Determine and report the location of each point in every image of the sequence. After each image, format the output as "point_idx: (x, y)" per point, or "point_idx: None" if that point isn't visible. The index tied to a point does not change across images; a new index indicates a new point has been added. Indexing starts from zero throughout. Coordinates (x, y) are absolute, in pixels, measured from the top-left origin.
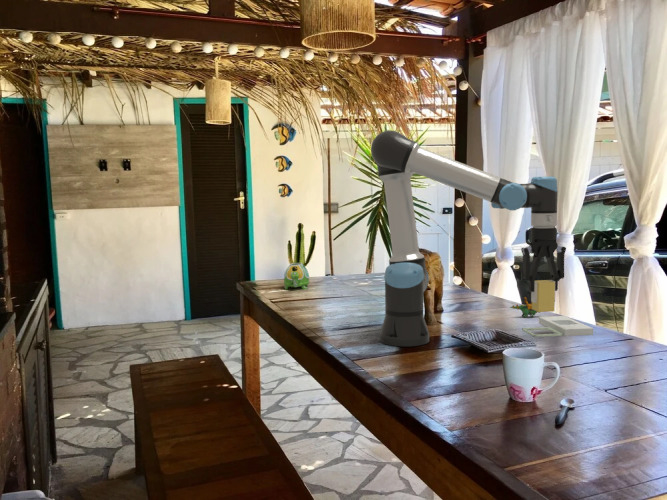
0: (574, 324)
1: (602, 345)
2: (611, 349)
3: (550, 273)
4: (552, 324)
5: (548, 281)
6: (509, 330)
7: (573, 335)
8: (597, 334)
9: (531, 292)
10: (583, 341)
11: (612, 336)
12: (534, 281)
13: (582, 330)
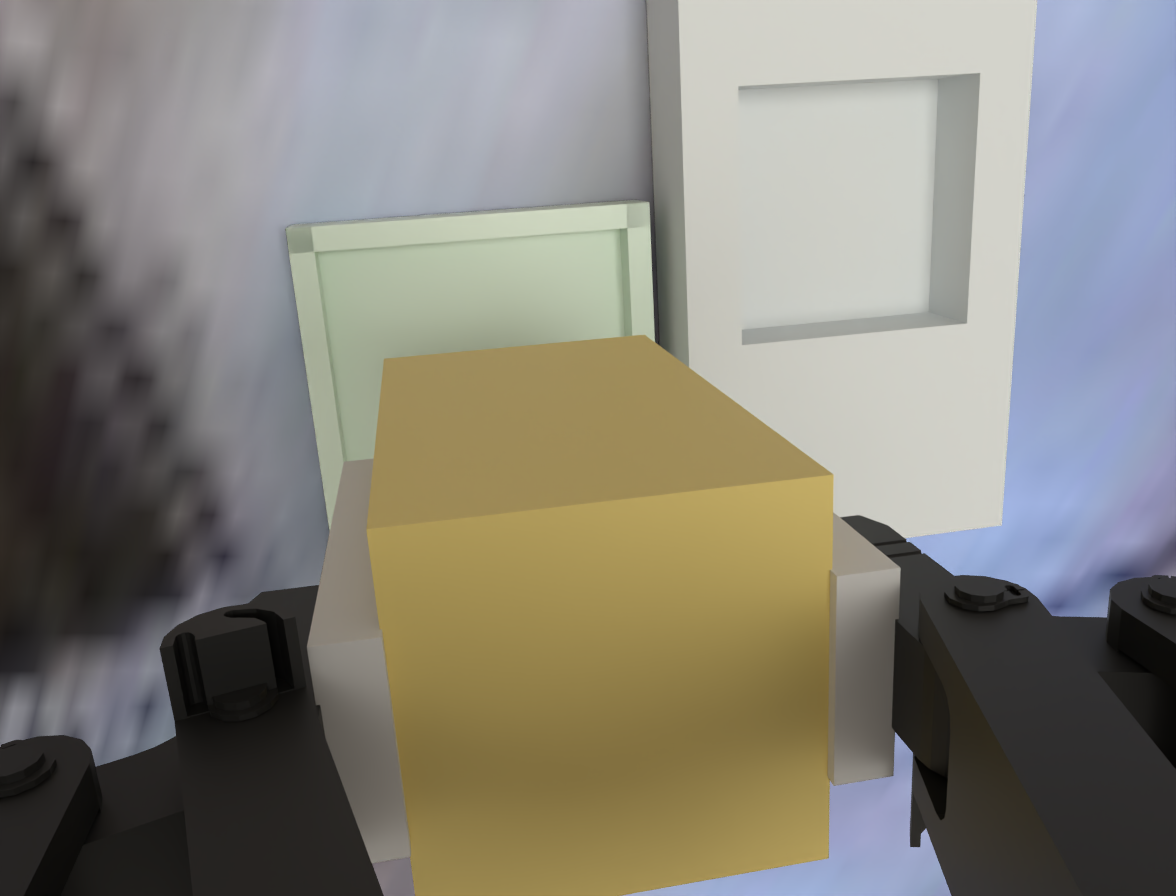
0: (910, 336)
1: None
2: (883, 843)
3: (961, 707)
4: (682, 255)
5: (756, 703)
6: (158, 68)
7: None
8: (1062, 356)
9: (334, 531)
10: None
11: (1142, 441)
12: (355, 780)
13: None
